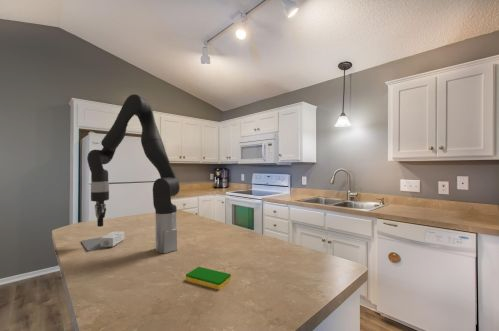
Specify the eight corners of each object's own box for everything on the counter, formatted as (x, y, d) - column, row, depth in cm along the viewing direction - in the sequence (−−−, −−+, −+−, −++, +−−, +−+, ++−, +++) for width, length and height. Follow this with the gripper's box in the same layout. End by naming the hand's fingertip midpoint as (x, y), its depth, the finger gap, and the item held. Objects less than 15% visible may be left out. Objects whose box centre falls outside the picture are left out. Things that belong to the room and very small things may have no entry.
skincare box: (99, 238, 109) (112, 230, 122) (99, 247, 110) (112, 239, 122) (113, 237, 110) (124, 230, 122) (113, 247, 110) (124, 238, 122)
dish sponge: (198, 272, 85) (198, 266, 85) (231, 281, 79) (231, 273, 79) (185, 281, 78) (185, 274, 78) (219, 291, 72) (219, 283, 72)
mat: (117, 245, 114) (117, 244, 114) (87, 251, 106) (87, 250, 106) (107, 236, 128) (107, 235, 128) (81, 241, 119) (81, 240, 119)
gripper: (112, 191, 111) (112, 227, 111) (105, 189, 121) (106, 222, 121) (93, 192, 106) (93, 230, 106) (88, 190, 116) (88, 225, 116)
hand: (100, 226), depth 114 cm, fingers closed
